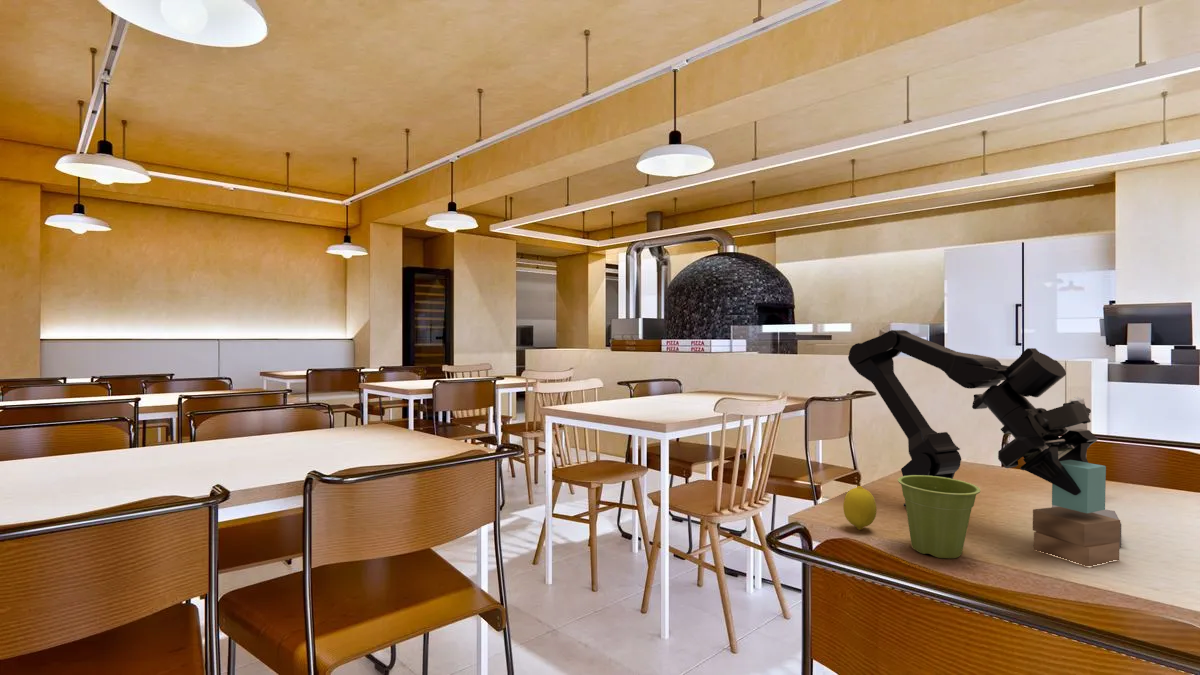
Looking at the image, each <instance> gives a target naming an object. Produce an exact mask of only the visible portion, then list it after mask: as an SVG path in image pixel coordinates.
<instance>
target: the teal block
mask: <svg viewBox="0 0 1200 675" xmlns="http://www.w3.org/2000/svg"><path fill="white" fill-rule="evenodd" d="M1060 463H1061V464H1062V465H1063V467H1064V468H1065V469H1066V471H1067V472H1068V473H1069V475H1070V476H1071V477H1072V479H1073V480H1074V481H1075V483H1076V484H1077V486H1078V487H1079V489H1080V490H1081V493H1080V494H1078V495H1073V494H1071V493H1069V492H1067V491H1065V490H1063V489H1062V488H1060V487H1058V486H1056V485H1054V484H1052V483H1051V506H1052V505H1055V506H1059V507H1063V508H1067V509H1071V510H1075V511H1079V512H1083V513H1092V512H1096V511H1101V510H1106V485H1107V484H1106V482H1107V481H1106V480H1107V479H1106V476H1107V466H1106V465H1102V464H1096V463H1091V462H1088V463H1086V462H1081V461H1075V460H1065V461H1060Z"/></svg>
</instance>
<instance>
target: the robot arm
mask: <svg viewBox="0 0 1200 675" xmlns="http://www.w3.org/2000/svg"><path fill="white" fill-rule="evenodd" d="M901 353H902V354H904V355H906V356H908V357H912V358H914V359H916V360H917V361H921V362H924V363H925V364H927V365H930V366H933V367H935V368H937V369H939V370H941V371H942V372H943V373H945V375H946V376H947V377H948V378H949V379H950V380H952V381H954V382H955V383H956V384H958V385H959V386H961V387H962V388H964V389H985V388H986V390H985V391H984V392H982V393H979V394H978V393H976V394H973V402H972V406H971V407H972V410H983V409H984V410H985V409H989V411H990V412H991V413H992V415H994V417H995V418H996V419H997V420H998V421H999V422H1000V423H1001V424H1002V427H1001V428H1000V431H1001V432H1002V433H1003V434H1004V435H1006V434H1010V435H1011V436H1012V437H1013V439H1012V440H1011V441H1009V442H1008V443H1007V444H1006V445H1004V446H1003V447H1002V448H1001V449H1000V450H997V451H998V452H997V454H998V455H997V458H998V460H999V462H1000V463H1001V464H1002V465H1003V467H1004V468H1005V469H1011V468H1012V469H1013V468H1016V467H1017V466H1019V460H1021V458H1023V459H1022V460H1023V462H1024V464H1023V465H1022V466H1020V467H1019V469H1020V470H1021V471H1026V472H1028V473H1030V474H1032V475H1034V476H1035V477H1036V476H1037V477H1038V478H1040V479H1042V480H1045V481H1046V482H1048V483H1050V484H1051V485H1052V484H1054V485H1056V486H1058V487H1060V488H1062V489H1063V490H1065V491H1067V492H1069V493H1071V494H1073V495H1078V494H1080V493H1081V490H1080V489H1079V487H1078V486H1077V484H1076V483H1075V481H1074V480H1073V479H1072V477H1071V476H1070V475H1069V473H1068V472H1067V471H1066V469H1065V468H1064V467H1063V465H1062V464H1061V463H1060V461H1065V460H1075V461H1081V462H1086V463H1089V461H1088V459H1087V451H1088V449H1089V448H1090V446H1091V445H1092V444H1094V443H1096V442H1097V441H1098V440H1099V438H1098V437H1097V436H1095V435H1094V433H1093V432H1092V431H1091V430H1089V429H1087V430H1084V429H1077V430H1069V431H1068V430H1067V429H1066V427H1070V426H1073V425H1077V424H1081V423H1083V424H1086V423H1087V424H1089V423H1091V422H1092V420H1091V418H1090V414H1091V412H1092V410H1091V408H1088V407H1087V406H1086V403H1085V404H1082V403H1080V402H1079V401H1071V402H1070V403H1069V402H1064V403H1063V405H1062V406H1058V407H1055V408H1052V409H1048V410H1047V409H1046V408H1042V407H1038V408H1037V407H1035V406H1034V405H1033V404H1032V402H1030V401H1029V399H1027V398H1029V397H1032V398H1039V397H1041V396H1042V395H1043V394H1044V393H1046V392H1047V391H1048V390H1049V389H1050V388H1052V387H1053V386H1054V385H1056V384H1057V383H1058V382H1059V381H1060V380H1061V379H1063V378H1064V377H1066V375H1067V371H1066V369H1065V367H1064V366H1063V365H1061V364H1062V363H1060V362H1059V361H1057V360H1055V359H1053V358H1052V357H1051V356H1048V355H1047V354H1045V353H1042V352H1040V351H1039V350H1038V349H1037V348H1033V347H1032V348H1030V347H1029V348H1026V349H1025V350H1023V351H1022V353H1021V354H1020V356H1019V357H1017V359H1015V361H1013V362H1012V363H1010V365H1005V364H1002V363H1001V362H1000V361H999V360H998V359H996V358H993V357H990V356H985V355H979V354H976V353H975V354H974V353H967V352H960V351H956V350H953V349H951V348H948V347H946V346H944V345H942V344H941V345H940V344H938V343H936V342H933V341H930V340H928V339H925V338H922V337H921V336H918V335H915V334H913V333H911V332H910V331H908V330H903V329H902V330H901V329H899V330H898V329H894V330H893V329H891V330H889V331H886V332H884V333H883V334H882V335H878V336H877V337H873V338H871V339H868V340H865V341H863V342H860V343H859V342H858V343H854V344H853V345H852V346H851V348H850V350H849V352H848V356H847V358H848V362H849V365H850V366H851V367H853V369H854V370H855V371H856V373H858V375H860V376H861V377H863V378H865V379H866V380H868V381H869V382H870V383H871V384H873V387H874V388H875V389H876V391H877V392H878V394H879V396H880V397H881V399H882V400H883V402H884V403H885V405H886V406H887V408H888V410H889V411H890V413H891V414H892V416H893V418H894V419H895V421H896V422H897V424H898V425H899V426H900V429H901V431H902V432H903V434H904V435H905V437H906V438H907V446H908V454H909V457H910V459H911V460H910V461H909V462H907V463H906V464H905V465H904V466H903V467H902V468H900V470H901V473H902V474H901V475H902V476H909V475H924V476H925V475H927V476H938V477H945V478H951V479H954V476H955V473H956V472H957V471H958V470H959V469H960V466H961V462H962V456H961V454H960V450H961V447H958V446H957V445H956V443H955V442H954V441H953V439H952V437H951V435H950V434H949V433H948V432H947V431H944V432H942V431H941V432H937V431H935V430H934V429H933V428H932V427H931V426H930V425H929V423H928V421H927V420H926V419H925V417H924V416H923V414H922V412H921V411H920V410H919V408H918V406H917V405H916V403H915V402H914V401H913V399H912V398H911V396H910V394H909V393H908V392H907V390H906V389H905V387H904V385H903V384H902V382H901V381H900V380H899V378H898V377H897V375H896V374H895V370H894V369H895V367H894V366H895V365H894V358H896V357H898V356H899V355H900V354H901ZM1001 381H1002V382H1001ZM1067 431H1068V432H1067ZM1066 432H1067V433H1066ZM903 507H905V508H906V503H903Z"/></svg>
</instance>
